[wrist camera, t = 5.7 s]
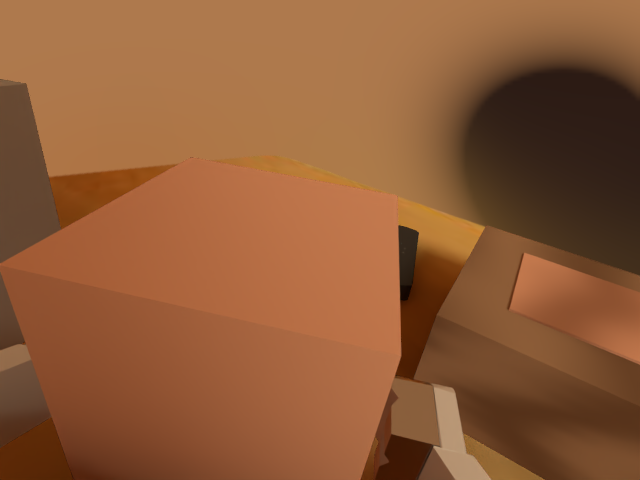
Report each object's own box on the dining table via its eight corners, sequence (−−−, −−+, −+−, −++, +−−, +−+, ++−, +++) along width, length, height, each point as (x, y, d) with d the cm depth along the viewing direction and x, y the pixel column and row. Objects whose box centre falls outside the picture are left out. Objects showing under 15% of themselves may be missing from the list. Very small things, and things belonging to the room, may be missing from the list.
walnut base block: (403, 404, 16) (437, 312, 13) (459, 294, 24) (487, 223, 21) (698, 574, 12) (826, 487, 9) (648, 373, 19) (710, 297, 17)
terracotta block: (113, 591, 9) (-3, 264, 5) (201, 418, 14) (191, 157, 9) (304, 650, 9) (401, 356, 4) (333, 452, 13) (397, 195, 8)
